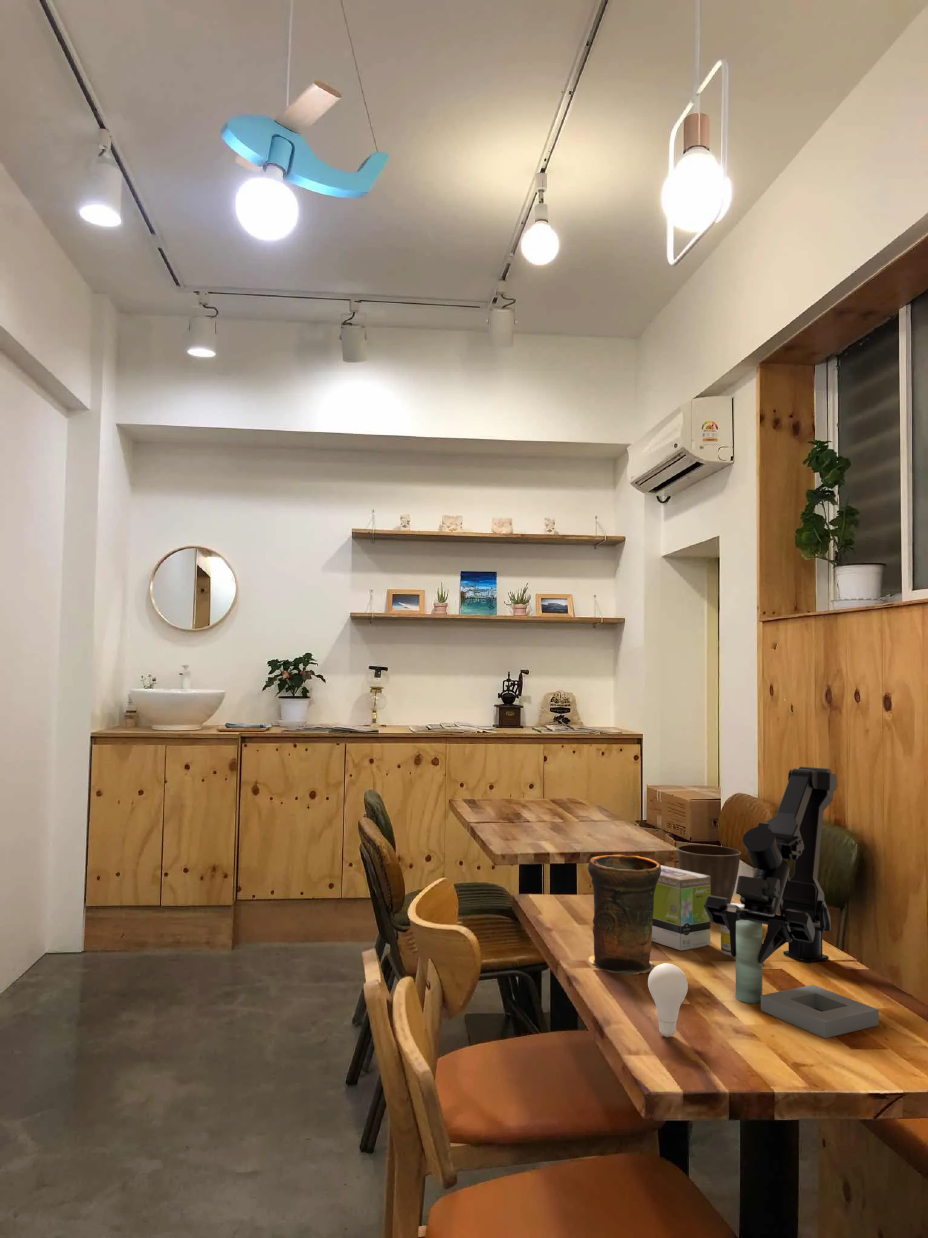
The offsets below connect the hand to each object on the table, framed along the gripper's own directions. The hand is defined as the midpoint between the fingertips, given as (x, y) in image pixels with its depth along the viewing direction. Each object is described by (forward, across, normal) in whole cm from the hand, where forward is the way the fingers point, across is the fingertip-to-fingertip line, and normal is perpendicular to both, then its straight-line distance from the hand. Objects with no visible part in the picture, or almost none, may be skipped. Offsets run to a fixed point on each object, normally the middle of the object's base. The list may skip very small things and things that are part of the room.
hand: (746, 959), depth 153 cm
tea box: (-13, -27, +23) cm, 38 cm away
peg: (+4, 0, +6) cm, 7 cm away
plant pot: (-30, -28, +41) cm, 58 cm away
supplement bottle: (-13, -12, +24) cm, 30 cm away
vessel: (+2, -26, +8) cm, 27 cm away
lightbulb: (+22, -3, -12) cm, 26 cm away
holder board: (+5, +12, +5) cm, 14 cm away
